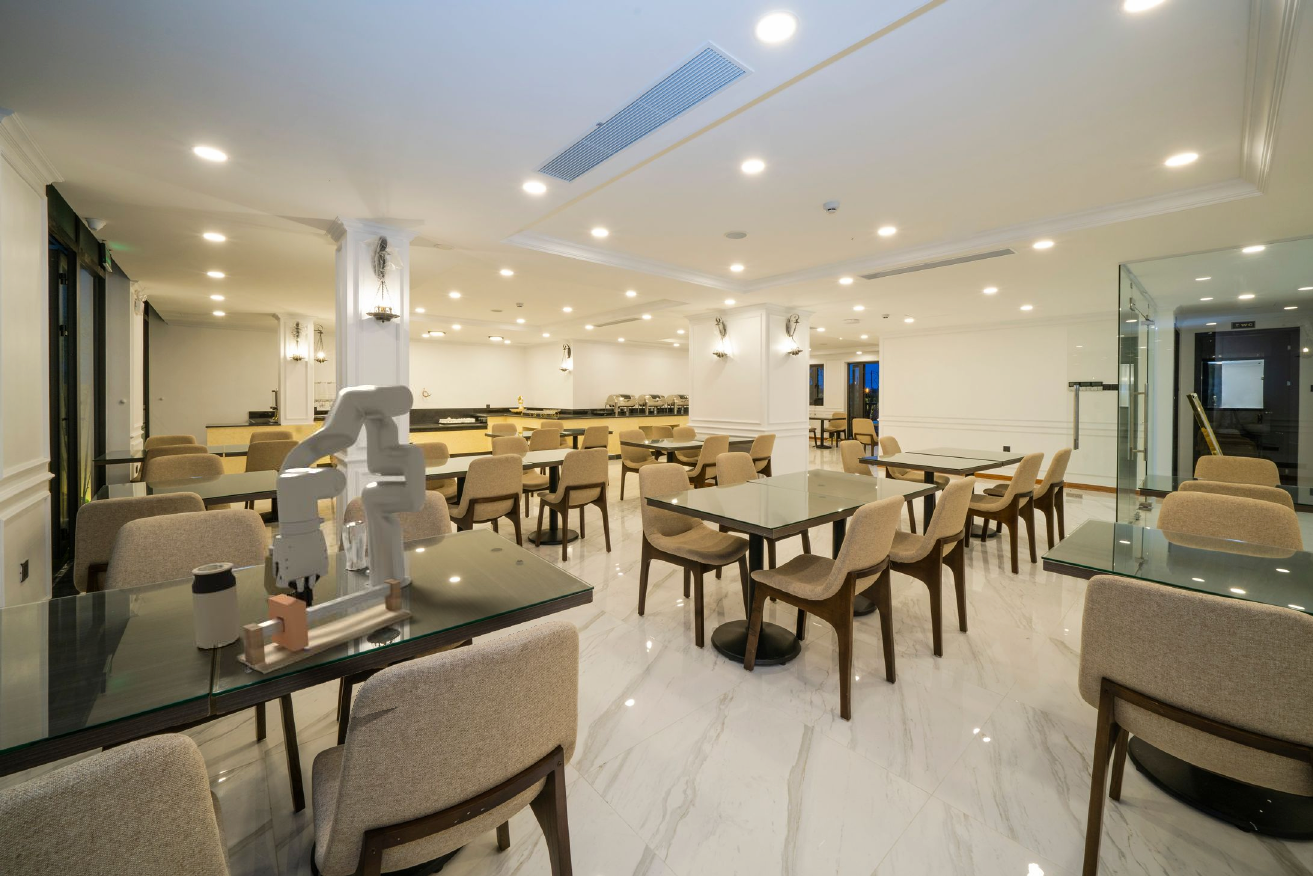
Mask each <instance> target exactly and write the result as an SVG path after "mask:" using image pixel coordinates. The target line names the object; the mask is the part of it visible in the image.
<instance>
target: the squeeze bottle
mask: <svg viewBox="0 0 1313 876" xmlns="http://www.w3.org/2000/svg"><path fill="white" fill-rule="evenodd" d="M278 535H280V532H276V533H274V536H273V541H272V542H273V543H272V545H270V546H269V547H268V549H267V550H268V554H266V556H264V557H265V558H264V571H263V572H264V573H263V574H264V575H263V576H264V578H263V588H264V589H265V591H266V593H267V595H268V594H269V595H275V596H277V595H281V594H284V595H286V594H290V593H292V592H293V591H294V592H295V590H293V589H292V588H290V587H282V588H280V587H277V586H276V580H277V578H274V576H273V549H274V542H275V537H276V536H278ZM294 592H293V593H294ZM293 593H292V594H293ZM269 595H268V596H269ZM290 595H291V594H290Z"/></svg>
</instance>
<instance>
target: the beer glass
mask: <svg viewBox="0 0 1313 876" xmlns="http://www.w3.org/2000/svg"><path fill="white" fill-rule="evenodd" d="M341 534H342V536H341V537H342V538H341V539H342V542H343V545H342V546H343V549H344V552H345V555H346V563H345V564H346V565H345V566H346V567H345V570H346V569H348V570H347V571H349V570H354V571H358V570H357V569H360V568H363V569H366V568H367V567H366V566H368V565H367V561H366V546H367V526H366V521H363V520H362V521H360V520H357V521H356V520H355V521H349V522H345V523H342V532H341ZM360 570H361V569H360Z"/></svg>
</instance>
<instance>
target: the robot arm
mask: <svg viewBox="0 0 1313 876" xmlns="http://www.w3.org/2000/svg"><path fill="white" fill-rule="evenodd" d="M413 395H414V394H413V392H412V391H411V389H410V388H409V387H408V386H406V385H403V384H402V385H401V384H397V385H396V384H389V385H388V384H386V385H384V384H382V385H381V384H380V385H379V384H378V385H377V384H370V385H369V384H367V385H358V386H350V387H345V388H342V389H341V390H339V392H337V394H336V395H335V398H334V399H333V401H332V404H331V405H330V408H329V410H328V412H327V415H326V417H325V418H324V421H323V423H322V425H321V427H320V428H319V430H317V431H315V432H314V433H312V434H311V435H309V436H308V437H306V438H304V439H303V440H302V441H300V442H299V443H298V444H296V446H294V447H293V448H292V449H291V450H290V451H289V452H288V453H287V455H286V456H285V459H284V460H283V462H282V464H281V467H280V468H279V470H278V473H277V476H276V481H275V486H276V487H275V488H276V496H277V497H276V500H277V511H278V512H277V513H278V514H277V515H278V526H279V527H278V528H279V529H278V530H279V533H280V535H278V536H276V537H275V542H274V549H273V576H274V578H277V580H276V586H277V587H280V588H282V587H290V588H292V589H293V590H294V598H296V599H299V600H301V601H304V602H306V609H307V608H310V607H313V601H314V592H313V591H314V588H315V586H316V584H317V582H318V581H319V580H320V578H323V577H325V576H327V575H328V574H329V570H328V568H329V562H330V561H329V553H328V547H327V542H326V538H325V534H324V532H323V529H322V528H321V524H325V517H320V516H319V505H318V502H319V500H327V499H328V500H330V499H333V498H336V497H338V496H340V495H341V494H342V493H343V492H344V490H345V489H346V485H347V477H346V475H345V473H344V472H343V471H342V470H340V469H338V468H337V467H329V466H325V467H324V466H323V467H322V466H318V467H317V466H316V467H315V466H314V467H312V465H313V464H315V463H316V462H317V461H319V460H321V459H323V458H325V457H327V456H331V455H334V454H336V453H339V452H341V451H344V450H347V449H348V448H351V447H353V446H354V444H355V445H356V442H357V440H358V438H359V435H360V432H361V430H362V429H363V427H365V433H366V434H365V435H366V464H367V470H368V472H369V474H370V475H372V476H375V477H404V479H405V480H379V481H378V480H377V481H372V482H369V483H367V484H366V485H365V486H364V487H363V488H362V490H361V494H360V497H361V498H360V500H361V505H362V508H363V511H364V516H365V525H366V540H367V550H368V551H367V553H368V555H367V556H368V570H366V571H365V576H366V575H367V576H368V580H367V581H366V582H365V583H364V586H363V587H364V588H363V589H364V590H365V589H368V588H371V587H375V586H378V585H381V584H384V581H386V580H389V579H393V580H397V581H400V583H401V589H402V588H405V587H406V586H408V585H410V584H411V582H412V581H411V580H412V579H411V576H410V575H407V574H406V573H405V569H406V568H405V555H404V552H405V551H404V549H405V548H404V531H403V525H402V521H401V520H400V518H399V517H398V516H397V514H409V513H417V512H420V511H422V509H424V506H425V504H426V503H425V502H426V498H427V497H426V496H427V494H426V493H427V492H426V490H427V486H426V485H427V484H426V480H427V479H426V478H427V477H426V476H427V475H426V474H427V473H426V472H427V471H426V468H427V467H426V456H425V453H424V450H423V449H422V447H420V446H419V445H417V444H413V443H412V444H410V443H405V444H404V443H402V444H400V443H399V441H400V440H399V427H398V424H397V423H396V421H395V420H394V419H393V418H396V417H400V416H405V415H407V414H408V413H409V412H410V411H411V410H412V408H413V405H414V396H413ZM363 425H364V426H363Z"/></svg>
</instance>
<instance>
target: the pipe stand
mask: <svg viewBox="0 0 1313 876" xmlns="http://www.w3.org/2000/svg"><path fill="white" fill-rule="evenodd" d="M383 597H384V603H380V604H378V605H376V606H372V607H370V608H367V609H365V610H361V611H359V612H356V613H353V614H350V615H348V616H345V617H343V618H342V617H341V618H339V619H336V620H333V621H331V622H327V623H325V624H323V625H320V626H317V627H314V628H312V629H308V642H309V646H307V647H304V648H302V649H299V650H297V651H292V650H290V649H288V648H285V647H283V646H281V645H279V644H276V643H274V642H272V643H269V644H267V645H265V643H264V638H268V637H271V635H273V634H276V633H279V632H282V631H285V625H284V619H283V618H281V617H279V618H276V619H273V620H270V619H269V620H267V621H264V622H261V623H258V624H257V623H255V622H253V623H250V624H245V625H243V626H242V633H243V645H244V646H243V647H244V653H242V654H238V655H236V658H237V657H238V658H239V659H241V660H244V661H245V662H248V663H250V664H251V665H253V666H255V667H256V668H258V669H260V670H262V671H267V670H269V669H272V668H275V667H277V666H281V665H285V664H286V663H290V662H293V661H296V660H299V659H302V660H304V659H305V658H304V657H306V656H309V655H312V654H315V653H317V652H319V651H322V652H324V651H323V650H324V649H327V648H330V647H332V646H335V645H337V646H339V645H338V644H340V643H342V644H344V643H343V642H345V643H347V642H349V641H348V640H350V641H352V640H355V639H357V638H359V637H363V636H365V635H367V634H369V633H372V632H374V631H377V630H379V629H382V628H385V627H387V626H389V625H392V624H395V623H398V622H399V621H403V620H405V619H407V618H408V619H409V618H410V617H412V612H411V611H409V610H406V609H403V605H402V602H403V601H402V588H401V583H400V581H397V580H393V579H389V580H386V581H384V584H381V585H378V586H375V587H371V588H368V589H365V588H364V589H363V590H360V591H356V592H353V593H351V594H348V595H344V596H341V597H338V598H335V599H332V600H329V601H326V602H322V603H320V604H316V605H314V606H313V605H312V606H310V607H307V608H306V613H307V624H308V623H310V622H313V621H315V620H319V619H322V618H324V617H328V616H331V615H333V614H336V613H339V612H342V611H345V610H348V609H351V608H354V607H356V606H359V605H362V604H366V603H368V602H371V601H373V600H378V599H379V598H383ZM351 639H352V640H351ZM340 645H341V644H340ZM335 647H336V646H335ZM332 648H333V647H332ZM330 649H331V648H330ZM327 650H328V649H327ZM317 654H318V653H317ZM315 655H316V654H315ZM312 656H313V655H312ZM309 657H310V656H309ZM303 658H304V659H303ZM299 661H300V660H299Z"/></svg>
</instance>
